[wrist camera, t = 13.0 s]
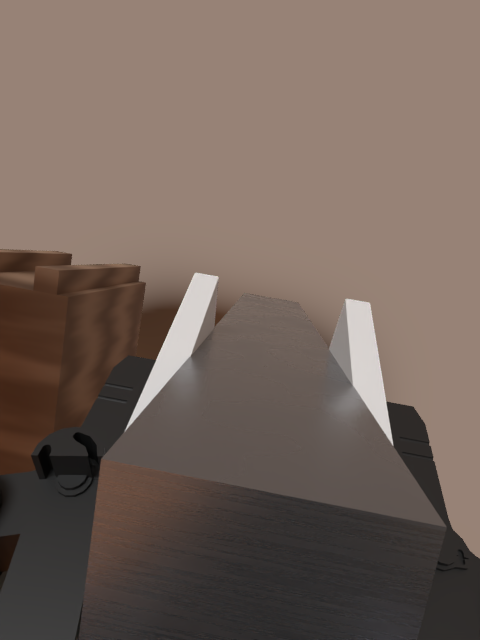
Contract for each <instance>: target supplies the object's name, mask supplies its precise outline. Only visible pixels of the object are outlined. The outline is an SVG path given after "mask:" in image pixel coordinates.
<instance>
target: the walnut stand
mask: <svg viewBox="0 0 480 640" xmlns="http://www.w3.org/2000/svg"><path fill="white" fill-rule="evenodd" d="M71 259H72V254H68V253H63V252H58V251H33V250H31V251H30V250H5V249H0V475H5V474H14V473H23V472H29V471H34V470H36V469H35V466H34V463H33V460H32V457H31V454H32V453H33V451H34V449H35V448H36V446H37V444H38V443H39V442H41V441H42V440H43V439H44V438H45V437H47V436H48V435H49V434H51V433H53V432H56V431H58V430H60V429H63V428H70V427H81V426H82V424H83V422H84V420H85V418H86V417H87V415H88V413H89V411H90V409H91V407H92V406H93V404H94V402H95V400H96V398H98V395H99V393H100V391H101V389H102V387H103V386H105V382H106V380H107V378H108V377H109V375H110V373H111V371H112V369H113V367H115V366H116V365H117V364H118V363H119V362H121V361H122V360H123V359H124V358H126V357H127V356H128V355H130V356H135V357H136V350H137V343H138V336H139V329H140V321H141V314H142V307H143V300H144V293H145V285H146V283H144V282H139V274H140V266H136V265H130V264H96V265H71Z"/></svg>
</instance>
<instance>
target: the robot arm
mask: <svg viewBox="0 0 480 640" xmlns="http://www.w3.org/2000/svg"><path fill="white" fill-rule="evenodd" d="M218 280H219V277H217V276H212V275H206V274H200V273H195V274H194V277H193V279H192V281H191V283H190V285H189V288H188V290H187V292H186V294H185V297H184V299H183V301H182V303H181V306H180V308H179V310H178V313H177V315H176V317H175V319H174V321H173V324H172V326H171V328H170V331H169V333H168V335H167V337H166V339H165V342H164V344H163V346H162V349H161V351H160V353H159V355H158V357H157V360H151V359H146V358H140V357H135V356H130V355H128V356H127V357H126V358H124V359H123V360H122V361H121V362H119V363H118V364H117V365H116V366H115V367H113V369H112V371H111V373H110V375H109V377H108V378H107V380H106V382H105V386H103V387H102V389H101V391H100V393H99V395H98V398H96V400H95V402H94V404H93V406H92V407H91V409H90V411H89V413H88V415H87V417H86V418H85V420H84V422H83V424H82V426H81V427H70V428H63V429H60V430H58V431H56V432H53V433H51V434H49V435H48V436H47V437H45V438H44V439H43V440H42V441H41V442H39V443H38V444H37V446H36V448H35V449H34V451H33V453H32V454H31V457H32V460H33V463H34V466H35V469H36V470H34V471H29V472H23V473H14V474H5V475H0V640H78V639H79V631H80V623H81V615H82V608H83V600H84V592H85V584H86V576H87V568H88V560H89V552H90V544H91V536H92V528H93V520H94V512H95V504H96V496H97V488H98V480H99V472H100V464H101V459H102V457H103V456H104V455H105V454H106V453H107V452H108V450H109V449H110V448H111V447H112V446H113V445H114V444H115V442H116V441H117V440H118V439H119V438H120V437H121V435H122V434H123V433H124V432H125V431H126V430H127V428H128V427H129V426H130V425H131V424H132V423H133V421H134V420H135V419H136V418H137V417H138V416H139V415H140V413H141V412H142V411H143V410H144V409H145V408H146V406H147V405H148V404H149V403H150V402H151V401H152V399H153V398H154V397H155V396H156V395H157V394H158V392H159V391H160V390H161V389H162V388H163V387H164V386H165V384H166V383H167V382H168V381H169V380H170V379H171V377H172V376H173V375H174V374H175V373H176V372H177V370H178V369H179V368H180V367H181V366H182V365H183V364H184V362H185V361H186V360H187V359H188V358H189V357H191V355H192V354H193V353H194V352H195V351H196V349H197V348H198V347H199V346H200V345H201V344H202V342H203V341H204V340H205V339H206V338H207V337H208V335H209V334H210V333H211V332H212V331H213V329H214V324H215V313H216V301H217V291H218ZM329 350H330V352H331V353H332V355H333V356H334V358H335V359H336V361H337V362H338V364H339V366H340V367H341V369H342V370H343V372H344V373H345V375H346V376H347V378H348V379H349V381H350V382H351V384H352V385H353V386H354V387H355V389H356V390H357V392H358V393H359V395H360V396H361V398H362V399H363V401H364V402H365V404H366V406H367V407H368V409H369V410H370V412H371V413H372V415H373V416H374V418H375V419H376V421H377V422H378V424H379V425H380V427H381V428H382V430H383V431H384V433H385V434H386V436H387V437H388V439H389V440H390V442H391V443H392V445H393V446H394V448H395V449H396V451H397V452H398V454H399V456H400V457H401V459H402V460H403V462H404V463H405V465H406V466H407V468H408V469H409V471H410V472H411V474H412V475H413V477H414V478H415V480H416V481H417V483H418V484H419V486H420V487H421V489H422V490H423V492H424V493H425V495H426V496H427V498H428V499H429V501H430V502H431V504H432V505H433V507H434V509H435V510H436V512H437V513H438V515H439V516H440V518H441V519H442V521H443V522H444V524H445V525H446V527H447V529H446V532H445V536H444V540H443V544H442V547H441V551H440V555H439V559H438V563H437V566H436V570H435V574H434V578H433V581H432V585H431V589H430V593H429V596H428V600H427V604H426V608H425V612H424V615H423V619H422V623H421V627H420V630H419V634H418V638H417V640H480V559H479V558H478V557H476V556H475V555H474V554H473V553H472V552H470V551H469V549H468V548H467V546H466V544H465V543H464V541H463V539H462V538H461V537H460V536H459V535H458V534H457V533H456V532H455V531H453V529H452V527H451V525H450V521H449V519H448V515H447V511H446V507H445V503H444V499H443V495H442V491H441V487H440V483H439V479H438V475H437V470H436V466H435V462H434V461H433V454H432V450H431V446H429V439H428V434H427V430H426V426H425V423H424V422H423V420H422V419H421V418H420V416H419V415H418V413H417V412H416V410H415V409H414V407H412V406H407V405H401V404H396V403H391V402H386V398H385V392H384V385H383V379H382V373H381V367H380V361H379V355H378V349H377V343H376V337H375V331H374V325H373V319H372V313H371V307H370V303H368V302H362V301H356V300H350V299H345V302H344V305H343V308H342V311H341V314H340V317H339V320H338V323H337V326H336V329H335V332H334V335H333V338H332V342H331V345H330V348H329Z"/></svg>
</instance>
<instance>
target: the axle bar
mask: <svg viewBox="0 0 480 640" xmlns="http://www.w3.org/2000/svg"><path fill="white" fill-rule="evenodd" d="M446 529H447V527H446V525H445V524H444V522H443V521H442V519H441V518H440V516H439V515H438V513H437V512H436V510H435V509H434V507H433V505H432V504H431V502H430V501H429V499H428V498H427V496H426V495H425V493H424V492H423V490H422V489H421V487H420V486H419V484H418V483H417V481H416V480H415V478H414V477H413V475H412V474H411V472H410V471H409V469H408V468H407V466H406V465H405V463H404V462H403V460H402V459H401V457H400V456H399V454H398V452H397V451H396V449H395V448H394V446H393V445H392V443H391V442H390V440H389V439H388V437H387V436H386V434H385V433H384V431H383V430H382V428H381V427H380V425H379V424H378V422H377V421H376V419H375V418H374V416H373V415H372V413H371V412H370V410H369V409H368V407H367V406H366V404H365V402H364V401H363V399H362V398H361V396H360V395H359V393H358V392H357V390H356V389H355V387H354V386H353V385H352V384H351V382H350V381H349V379H348V378H347V376H346V375H345V373H344V372H343V370H342V369H341V367H340V366H339V364H338V362H337V361H336V359H335V358H334V356H333V355H332V353H331V352H330V350H329V348H328V346H327V345H326V343H325V342H324V341H323V339H322V338H321V336H320V335H319V333H318V331H317V330H316V328H315V327H314V325H313V324H312V322H311V321H310V319H309V318H308V316H307V315H306V313H305V312H304V310H303V309H302V307H301V306H300V304H299V303H298V302H292V301H287V300H281V299H275V298H269V297H263V296H258V295H252V294H247V293H244V294H243V295H242V296H241V297H240V299H239V300H238V301H237V302H236V304H234V306H233V307H232V308H231V309H230V310H229V311H228V312H227V314H226V315H225V316H224V317H223V318H222V319H221V321H220V322H219V323H218V324H217V325H216V327H215V328H214V329H213V331H212V332H211V333H210V334H209V335H208V337H207V338H206V339H205V340H204V341H203V342H202V344H201V345H200V346H199V347H198V348H197V349H196V351H195V352H194V353H193V354H192V355H191V357H189V358H188V359H187V360H186V361H185V362H184V364H183V365H182V366H181V367H180V368H179V369H178V370H177V372H176V373H175V374H174V375H173V376H172V377H171V379H170V380H169V381H168V382H167V383H166V384H165V386H164V387H163V388H162V389H161V390H160V391H159V392H158V394H157V395H156V396H155V397H154V398H153V399H152V401H151V402H150V403H149V404H148V405H147V406H146V408H145V409H144V410H143V411H142V412H141V413H140V415H139V416H138V417H137V418H136V419H135V420H134V421H133V423H132V424H131V425H130V426H129V427H128V428H127V430H126V431H125V432H124V433H123V434H122V435H121V437H120V438H119V439H118V440H117V441H116V442H115V444H114V445H113V446H112V447H111V448H110V449H109V450H108V452H107V453H106V454H105V455H104V456H103V457H102V459H101V464H100V472H99V480H98V488H97V496H96V504H95V512H94V520H93V528H92V536H91V544H90V552H89V560H88V568H87V576H86V584H85V592H84V600H83V608H82V615H81V623H80V631H79V639H78V640H417V638H418V634H419V630H420V627H421V623H422V619H423V615H424V612H425V608H426V604H427V600H428V596H429V593H430V589H431V585H432V581H433V578H434V574H435V570H436V566H437V563H438V559H439V555H440V551H441V547H442V544H443V540H444V536H445V532H446Z"/></svg>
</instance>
